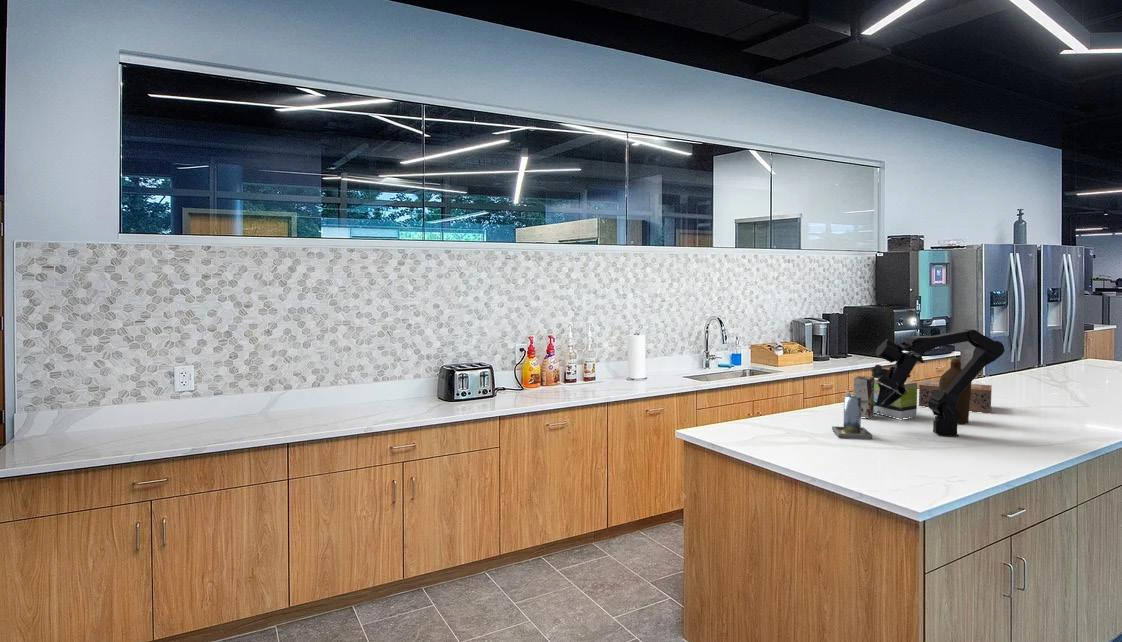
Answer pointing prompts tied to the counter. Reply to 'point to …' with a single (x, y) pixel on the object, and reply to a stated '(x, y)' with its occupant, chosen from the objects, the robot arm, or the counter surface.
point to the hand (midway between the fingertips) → (880, 406)
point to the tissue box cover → (978, 396)
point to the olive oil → (964, 396)
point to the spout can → (852, 414)
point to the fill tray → (841, 434)
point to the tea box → (898, 402)
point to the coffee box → (865, 394)
